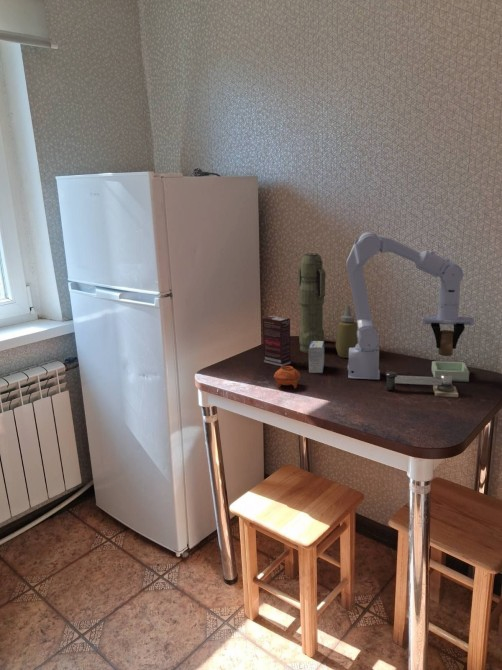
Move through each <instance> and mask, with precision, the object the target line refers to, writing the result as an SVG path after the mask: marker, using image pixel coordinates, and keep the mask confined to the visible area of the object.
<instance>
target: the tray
mask: <svg viewBox="0 0 502 670" xmlns="http://www.w3.org/2000/svg"><path fill="white" fill-rule="evenodd" d="M431 373H432V375H433V376H432V377H441V374H450V375H452V382H463V383H466V382H467V383H469V381H470V371H469V369H468V367H467V365H466V363H465V362H461V361H457V362H456V361H434V360H433V361H431Z"/></svg>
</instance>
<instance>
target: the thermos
mask: <svg viewBox="0 0 502 670" xmlns="http://www.w3.org/2000/svg"><path fill="white" fill-rule="evenodd" d="M324 269H325V268H323V260H322V256H321V255H320V254H319V253H305V254H303V255H302V258H301V261H300V267H299V269H298V295H299V299H298V300H299V301H298V303H299V305H300V330H299V334H298V335H299V337H298V339H299V341H298V342H299V351H300V352H301V353H306V354H309V347H310V344H311V341H324V342H325V331H324V329H323V327H324V326H323V322H324V321H323V319H324V318H323V316H324V313H323V309H324V308H323V307H324V306H323V305H324V303H325V296H326V272H325V270H324Z"/></svg>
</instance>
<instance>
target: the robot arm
mask: <svg viewBox="0 0 502 670" xmlns="http://www.w3.org/2000/svg"><path fill="white" fill-rule="evenodd" d="M378 252H380V253H381V254H385V253H393V254H394V255H397V256H399V257H401V258H404V259H407V260H409V261H412V262H414V264H415V267H416V269H417V270H420V271H422V272H423V273H426V274H429V275H430V276H432V277H435V278H439V279H440V281H439V289H438V305H437V315H434V316H422V317H421V324H422V325H430V326H431V329H432V331H433V335H434V338H435V339H434V340H435V345H436V349H439V347H440V331H441V325H453V332H454V340H453V350H455V349H457V344H458V342H459V339H460V337H461V335H462V333H463V332H464V331H465V328H466V327H465V326H466V325H467V326H475V318H474V317H465V316H459V307H460V294H461V293H460V292H461V287H460V286H461V281H462V280H463V278H464V275H465V274H464V272H463V269H462V267H461V266H459V265H458V264H457V263H455V262H453V261H452V260H451V261H450V259H449V258H447V257H446V258H444V257H441V256H440V255H437V254H436V252H435V251H433V250H424V251H417V250H415V249H413V248H412V247H409V246H407V245H405V244H404V243H402V242H399V241H398V240H395V239H393V238H390V237H388V236H385V235H382V234H376V233H375V232H374V231H373V232H372V231H365V232H363V233H361V234H360V235H359V236H358V237H357V239H355V240H354V243H353V245H352V248H351V249H350V252H349V255H348V257H347V259H346V263H345V264H346V270H347V275H348V279H349V284H350V290H351V296H352V301H353V307H354V312H355V317H356V321H357V322H356V323H357V337H358V343H357V345H356V346H355V347H354V348H349V358H348V364H347V371H348V373H347V374H348V377H347V378H348V379H353V380H354V379H357V380H358V379H359V380H375V381H376V380H381V374H380V373H381V372H380V370H379V367H380V365H379V364H380V346H379V344H380V338H379V335H378V330H377V329H376V327H375V326H374V324H373V318H372V312H371V307H370V306H371V305H370V302H369V296H368V290H367V287H366V285H367V284H366V280H365V274H364V269H363V267H364V266H365V265H366V263H368V261H369V259H371V258H372V257H373V256H375V255H376V254H377V253H378Z"/></svg>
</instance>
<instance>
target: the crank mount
mask: <svg viewBox="0 0 502 670" xmlns="http://www.w3.org/2000/svg"><path fill="white" fill-rule="evenodd" d="M398 375H399V376H402V375H400V374H398ZM432 389H433V392H434V396H435V397H446V398H459V392H458V389H457V388H456V386H455V385H454V384H452V385H451V386H450V387H445V386H441V385H432Z"/></svg>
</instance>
